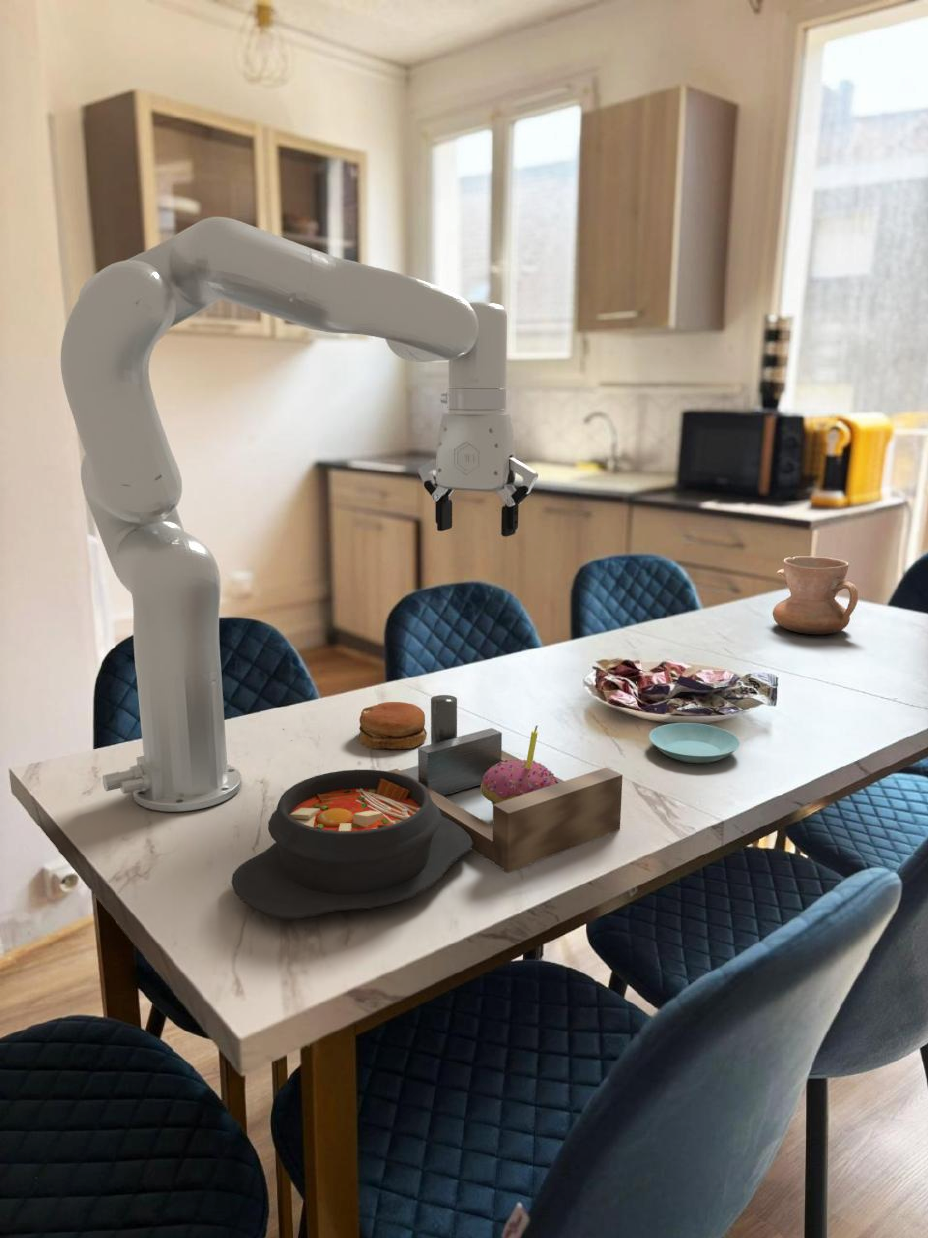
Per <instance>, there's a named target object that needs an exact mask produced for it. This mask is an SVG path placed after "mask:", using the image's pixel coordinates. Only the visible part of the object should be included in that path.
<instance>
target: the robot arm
mask: <svg viewBox="0 0 928 1238" xmlns="http://www.w3.org/2000/svg"><path fill="white" fill-rule="evenodd" d="M222 301H223V302H227V303H230V304H234V305H237V306H239V307H243V308H245V309H249V310H252V311H256V312H259V313H262V314H264V315H269V316H271V317H274V318H277V319H281V320H282V321H283V320H284V321H285V322H289V323H290V324H291V323H292V324H295V325H297V326H300V327H303V328H307V329H309V330H314V331H319V332H324V333H330V334H350V335H362V336H363V335H364V336H370V337H375V338H378V339H383V340H384V339H385V342H386V344H387V346H388V347H389V349H390V350H391V351H392V352H393V354H395V356H397V357H399V358H401V359H402V360H405V361H409V362H414V363H415V362H416V363H425V362H426V363H427V362H436V361H437V362H440V361H448V388H447V392H445V393H441V394H440V397H439V401H440V403H441V404H445V405H447V409H448V412H442V415H441V419H440V425H439V428H438V430H439V431H438V435H437V444H436V454H435V455H436V456H435V457H436V458H434V459H432V460H429V462H427V463H424V464H423V465H421V466H419V467H418V469H417V470H418V474H419V477H420V478H421V481H422V482H423V486H424V489H425V491H427V492H428V493H429V495H430V496H431V500H432V501H433V502H435V504H434V505H435V512H434V513H435V514H434V515H435V524H436V531H438V532H443V531H447V530H451V529H452V528H453V501H452V499H450V496H451V495H452V493H453V492H454V491H456V490H457V491H470V492H471V491H474V492H487V493H488V492H489V493H490V492H496V493H497V494H498V495H499V496H500V497H501V499H502V501H503V502H504V505H503V506H502V507H501V521H500V522H501V526H500V528H501V531H500V536H502V537H506V538H507V537H511V536H513V535H515V534H516V533H517V530H518V528H519V505H521V504H522V503H523V501H524V500H525V499H526V498H528V496H529V495H530V494H531V492H532V489H533V487H534V486H535V484H536V482H537V480H538V478H539V473H538V472H537V471H535V470H534V469H532V468H531V467H529V466H527V465H526V464H524V463H523V462H521V461H519V460H518V459H517V458H516V447H515V436H514V429H513V423H512V422H513V421H512V418H511V414H510V413H507V410H506V409H507V406H506V405H507V361H508V359H507V357H508V355H507V352H508V350H507V349H508V348H507V347H508V346H507V345H508V344H507V343H508V341H507V340H508V315H507V312H506V309H505V308H504V307H503V305H500V304H498V303H492V302H482V301H481V302H480V301H479V302H477V301H476V302H473V301H472V302H468V301H467V300H466V299H464V298H463V297H461V296H460V295H458V294H457V293H454V292H451V291H450V290H447V289H445V288H442V287H440V286H436V285H434V284H431V283H429V282H426V281H424V280H422V279H419V278H417V277H413V276H409V275H406V274H404V273H399V272H395V271H391V270H388V269H384V268H379V267H375V266H372V265H367V264H364V263H361V262H358V261H354V260H350V259H345V258H341V257H337V256H334V255H330V254H327V253H325V252H322V251H319V250H316V249H315V248H311V247H308V246H306V245H303V244H300V243H297V242H295V241H292V240H290V239H287V238H285V237H282V236H279V235H276V234H274V233H271V232H270V231H267V230H264V229H262V228H259V227H256V226H253V225H251V224H248V223H246V222H243V221H240V220H237V219H234V218H231V217H227V216H226V217H225V216H211V217H207V218H204V219H201V220H200V221H197V222H196V223H194V224H193V225H191V226H189V227H187V228H185V229H184V230H182V231H180V232H178V233H177V234H175V235H173V236H171V237H170V238H167V239H166V240H164V241H163V242H160V243H159V244H156V245H155V246H153V247H151V248H149V249H147V250H145V251H143V252H140V253H137V255H135V256H132V257H129V258H128V259H126V260H120V261H117V262H113V263H112V264H110V265H107V266H106V267H104V268H102V269H101V270H100V271H97V273H94V275H92V276H91V277H89V278H88V279H87V281H86V282H85V283H84V284H83V286H82V287H81V289H80V291H79V294H78V298H77V301H76V302H75V304H74V307H73V308H72V309H71V313H70V315H69V318H68V319H67V322H66V324H65V325H66V326H65V329H64V331H63V337H62V341H61V347H60V371H61V372H60V373H61V379H62V383H63V388H64V391H65V392H64V393H65V396H66V399H67V402H68V406H69V408H70V411H71V413H72V417H73V419H74V420H73V421H74V423H75V426H76V430H77V432H78V436H79V439H80V442H81V444H82V447H83V451H84V453H85V455H84V458H83V459H82V463H81V465H80V466H81V467H80V479H81V485H82V489H83V493H84V496H85V500H86V501H87V505H88V507H89V510H90V513H91V515H92V517H93V520H94V523H95V526H96V528H97V532H98V533H99V536H100V539H101V541H102V545H103V547H104V549H105V551H106V555H107V557H108V559H109V561H110V565H111V568H112V570H113V572H114V573H115V576H116V577H117V579H118V580H119V582H120V584H121V585H122V586H123V587H124V588H125V589H126V590H127V591H128V592H129V593H130V594H131V597H132V605H133V607H132V608H133V609H132V610H133V629H132V630H133V633H132V634H133V650H134V651H133V653H134V664H135V665H134V667H135V673H136V684H137V695H138V704H139V705H138V706H139V707H138V708H139V717H140V718H139V719H140V729H141V741H142V749H143V755H140V756H138V757H136V765H130V767H129V769H128V770H124V771H116V772H112V773H108V774H107V773H106V774H103V775H102V784H103V789H104V791H105V792H110V791H114V790H118V789H120V791H121V793H122V795H125V794H129V793H132V796H133V798H134V802H136V803H137V804H138V805H140V806H142V807H143V808H145V809H150V810H152V811H158V812H168V813H169V812H170V813H174V812H177V813H178V812H189V811H195V810H201V809H205V808H209V807H213V806H216V805H218V804H220V803H223V802H225V801H227V800H230V798H233V796H235V795H236V794H237V793H238V792H239V791H240V790H241V787H242V781H243V780H242V774H241V772H240V771H239V770H238V769H237V768H235V767H234V766H232V765H230V764H228V754H227V741H226V740H227V736H226V724H225V723H226V722H225V709H224V696H223V695H224V694H223V677H222V676H223V675H222V662H221V649H220V646H221V645H220V607H221V606H220V605H221V595H222V594H221V592H222V591H221V590H222V588H221V587H222V585H221V582H222V581H221V575H220V570H219V566H218V563H217V561H216V559H215V557H214V555H213V554H212V552H211V551H210V549H209V548H208V547H207V546H206V545H205V544H204V543H203V542H202V541H201V540H200V539H198V538H197V537H195V536H193V535H192V534H189V533H188V532H185V530H184V527H183V524H182V522H181V518H180V514H179V513H178V509H177V506H178V504H179V502H180V501H181V497H182V492H183V491H182V490H183V486H182V485H183V484H182V483H183V482H182V475H181V473H180V469H179V467H178V464H177V461H176V459H175V456H174V454H173V451H172V449H171V446H170V443H169V440H168V437H167V435H166V432H165V430H164V426H163V422H162V420H161V418H160V415H159V411H158V409H157V406H156V402H155V401H156V400H155V398H154V395H153V391H152V387H151V385H152V384H151V382H150V373H149V372H150V371H149V369H150V368H149V367H150V366H149V365H150V359H151V354H152V352H153V350H154V348H155V345H156V344H157V343H158V341H160V340H161V339H162V338H163V337H164V336H165V335H166V334H167V333H168V332H169V330H170V329H171V328H172V327H174V326H177V325H178V324H180V323H182V322H184V321H186V320H188V319H190V318H192V317H193V316H195V315H197V314H199V313H201V312H202V311H204V310H206V309H207V308H209V307H211V306H213V305H214V304H217V303H219V302H222ZM434 472H435V476H434ZM516 474H517V475H519V476H520V477H521V478H522V482H521V485H520V486H519V487H518V488H517V489H516V487H515V486H514V485H515V483H516V482H515V481H516ZM434 477H435V478H434Z"/></svg>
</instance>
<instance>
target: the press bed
mask: <svg viewBox="0 0 928 1238" xmlns="http://www.w3.org/2000/svg"><path fill="white" fill-rule="evenodd" d="M509 759H510V760H511V761H512V760H522V759H520V758H518V757H516V756H515V755H513V754H511V753H508V752H506V751H505V750H503V749H502V756H501V762H502V761H506V760H509ZM510 760H509V761H510ZM400 770H401V769H399V768H393V769H391V770H387V771H388V772H393V773H398V774H401V775H405V776H408V775H407V774H405V773H403V772H402V771H400ZM408 777H410V776H408ZM554 777H555V778H556V780H557V779H558V781H557V782H558V783H557V784H554V785H551V786H548V787H545V788H542V789H539V790H536V791H533V792H530V793H527V794H524V795H521V796H518V797H514V798H511V799H508V800H505V801H502V802H499V803H496V804H492V825H491V824H489V823H487V822H486V821H484V820H482V818H481V819H480V818H479V817H478V816H476V815H474V814H472V813H471V812H469V811H468V810H466V809H464V808H463V807H461V806H460V805H458V804H456V803H454V802H453V801H451V800H449V799H448V798H446V797H445V796H441V795H440V794H438V793H436V792H435V791H433V790H431V789H430V788H428V787H426V786H425V785H424V786H425V787H426V789H427V790H428V791H429V794H430V796H431V799H432V801H433V802H434V803H435V804H436V805H437V807H438V808H439V810H440V813H441V816H443V817H445V818H447V819H449V820H451V821H453V822H455V823H456V824H458V825H459V826H460V827H462V828H463V829H464V830H465V831H466V832H467V833H468V834H469V835H470V837H471V839H472V842H473V844H472V847H471V850H473V851H474V852H475V853H477V854H479V855H480V856H481V857H483V858H485V859H487V861H489V862H491V864H493V865H495V866H497V867H498V868H500V869H502V870H503V871H504V872H506V873H511V872H512V871H515V870H518V869H520V868H523V867H525V866H528V865H531V864H533V863H534V864H535V863H536V862H539V861H541V860H544V859H546V858H549V857H552V856H554V855H557V854H560V853H561V852H562V853H563V852H565V851H567V850H569V849H572V848H574V847H577V846H580V845H583V844H586V843H588V842H590V841H593V840H596V839H598V838H601V837H603V836H606V835H608V833H609V834H611V833H614V832H617V831H619V830H620V829H621V816H622V814H621V813H622V795H623V794H622V793H623V774H622V773H619V772H617V771H615V770H614V769H611V768H609V767H606V766H605V767H603V768H600V769H597V770H594V771H592V772H588V773H584V774H583V775H579V776H575V777H573V778H569V779H567V780H563V779H561V778H558V777H557V776H555V775H554ZM410 778H412V777H410ZM412 779H413V778H412ZM414 780H415V779H414ZM422 785H423V784H422ZM616 830H617V831H616ZM610 832H611V833H610ZM530 863H531V864H530Z"/></svg>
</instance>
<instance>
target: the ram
mask: <svg viewBox="0 0 928 1238" xmlns="http://www.w3.org/2000/svg"><path fill="white" fill-rule="evenodd" d="M430 738H431V739H430V744H427V745H424V746H423V745H422V746H421V747H417V760H418V761H417V762H418V764H417V765H415V766H412V767H409V768H404V769H399V770H400V771H402V772H403V773H405V774H407V775H408V776H410V777H412V778H413V779H415V780H417V781H418V782H420V783H421V784H423V785H425V786H426V787H428V788H430V789H431V790H433V791H435V792H436V793H438V794H440V795H441V796H443V797H445V796H447V795H451V794H455V793H457V792H460V791H464V790H467V789H471V788H473V787H477V786H481V784H482V781H483V776H484V775H485V773H486V772H487V771H486V770H488V769H489V768H491V767H492V766H493V765H496V764H498V763H499V762H501V756H502V750H503V749H502V747H503V746H502V745H503V744H502V743H503V741H502V739H503V733H502V732H501V731H499V730H496V729H495V728H493V727H491V728H488V729H487V728H486V729H483V730H479V731H475V732H472V733H468V734H464V735H461V736H458V697H456V696H454V695H450V694H449V695H448V694H439V695H434V696H432V697H431V698H430Z"/></svg>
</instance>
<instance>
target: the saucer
mask: <svg viewBox="0 0 928 1238" xmlns="http://www.w3.org/2000/svg"><path fill="white" fill-rule="evenodd" d="M648 739H649V741H650V742H651V743H652V745H654V746H655V747H656V749H658V750H659V752H661V753H663V754H664V755H666V756H668V757H669V758H672V759H674V760H676V761H680V762H682V763H683V762H684V763H688V764H689V763H690V764H708V763H713V762H716V761H720V760H722V759H724V758H727V756H729V755H731V754H733V753H734V752H735V751H737V750H738V748H739V747H740V744H741V743H740V739H739V738H738V736H736V735H735V734H734V733H733V732H730V731H729V730H727V729H724V728H720V727H718V726H714V725H708V724H704V723H695V722H677V723H668V724H664V725H660V726H658V727H655V728H653V729H652V730H651V731H650V732H649V734H648Z"/></svg>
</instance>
